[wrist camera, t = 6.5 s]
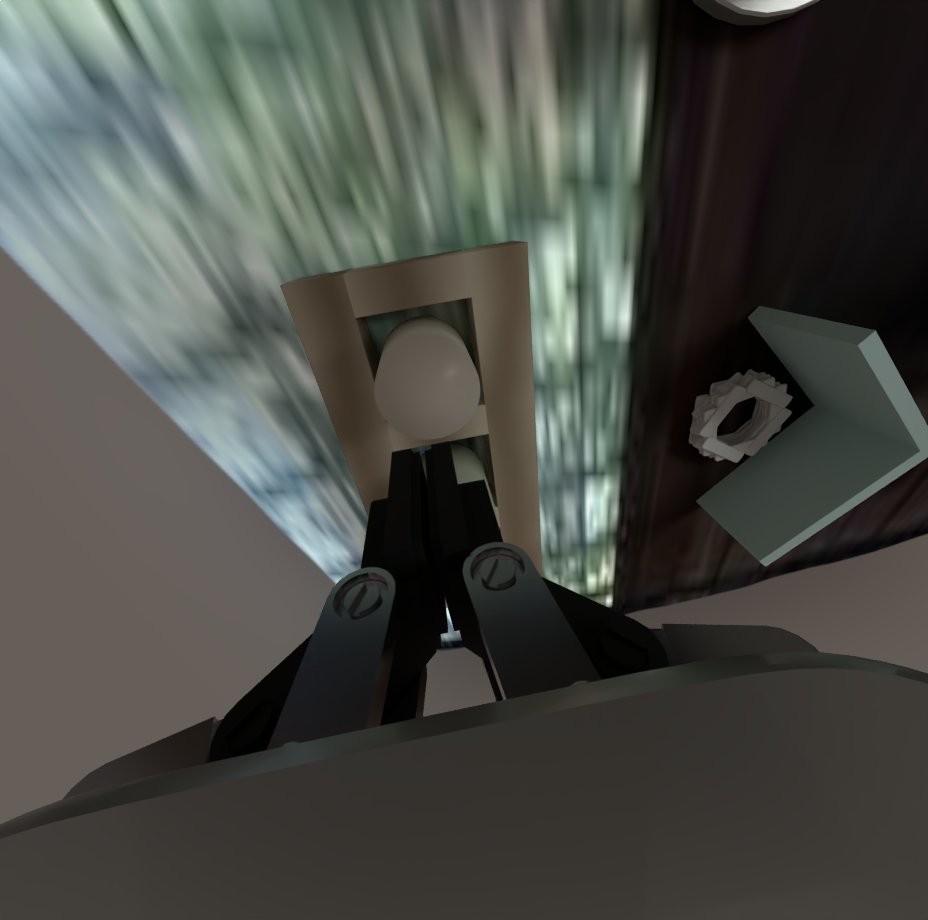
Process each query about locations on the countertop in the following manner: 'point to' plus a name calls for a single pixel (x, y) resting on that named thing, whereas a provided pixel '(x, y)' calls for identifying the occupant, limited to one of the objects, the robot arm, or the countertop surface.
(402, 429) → the beige egg
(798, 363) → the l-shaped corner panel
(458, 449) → the pale green egg
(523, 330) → the wooden rectangular frame
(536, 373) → the countertop surface
